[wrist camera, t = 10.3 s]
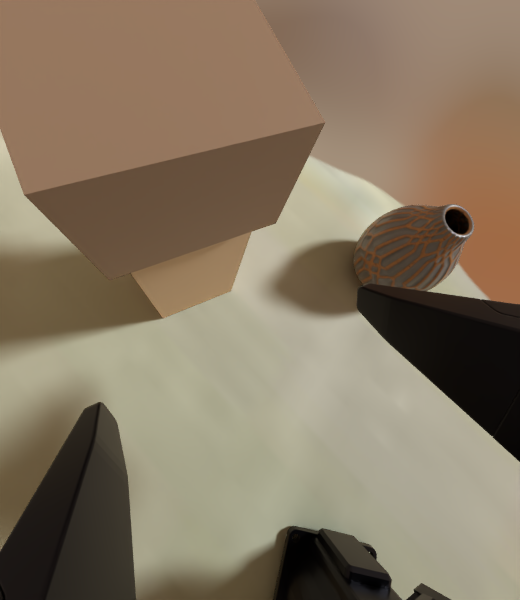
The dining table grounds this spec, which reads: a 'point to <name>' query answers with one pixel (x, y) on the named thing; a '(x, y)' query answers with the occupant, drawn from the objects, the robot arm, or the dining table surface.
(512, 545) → the dining table surface
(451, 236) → the vase
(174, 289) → the mailer box
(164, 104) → the lid
